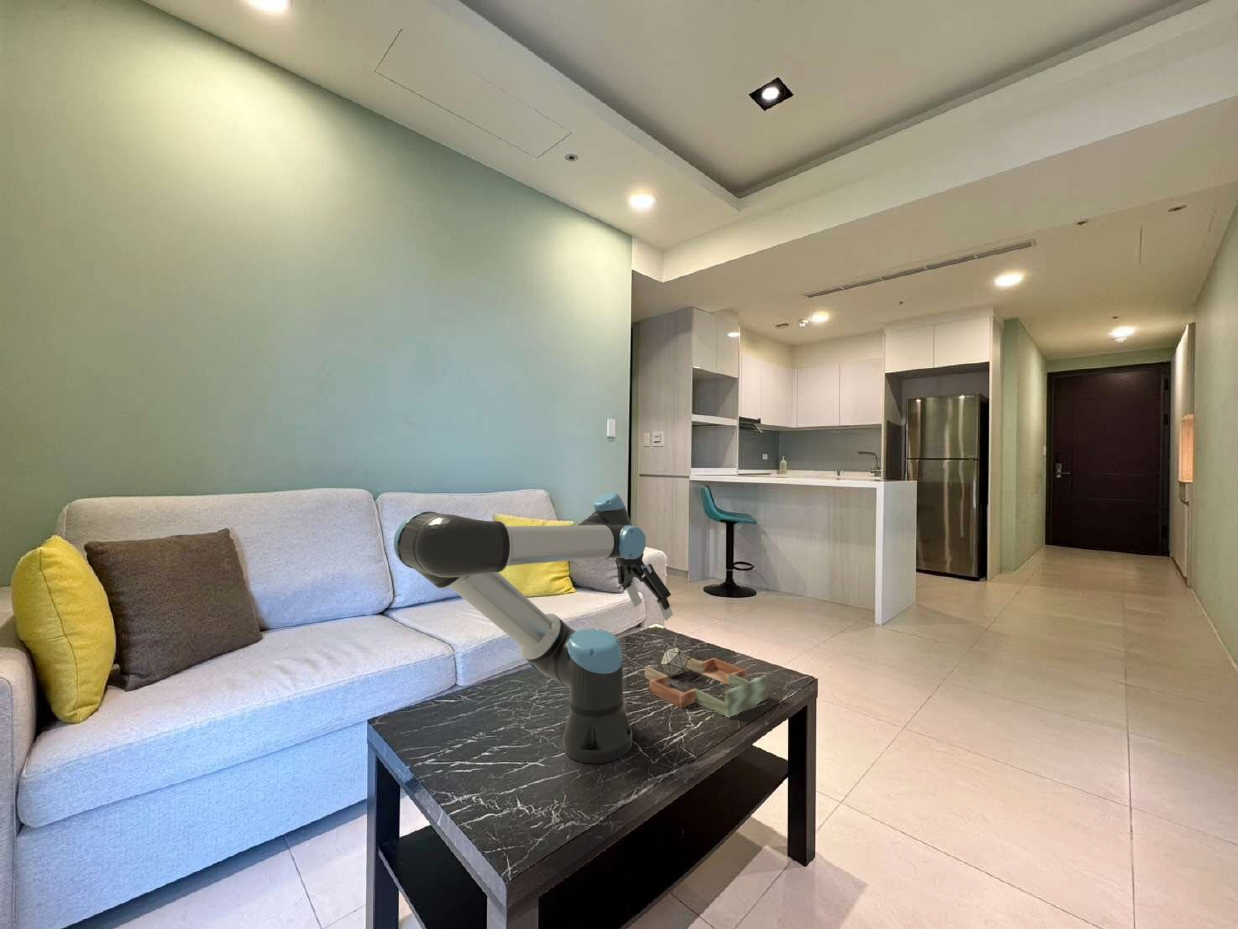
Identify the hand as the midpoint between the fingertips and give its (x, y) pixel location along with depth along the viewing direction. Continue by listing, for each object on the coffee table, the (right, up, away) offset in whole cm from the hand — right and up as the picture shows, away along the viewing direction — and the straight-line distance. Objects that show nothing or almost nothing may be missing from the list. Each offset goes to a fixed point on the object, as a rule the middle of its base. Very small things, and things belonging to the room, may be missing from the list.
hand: (652, 610), depth 140 cm
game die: (+7, -20, +4) cm, 21 cm away
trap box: (+13, -19, -5) cm, 24 cm away
